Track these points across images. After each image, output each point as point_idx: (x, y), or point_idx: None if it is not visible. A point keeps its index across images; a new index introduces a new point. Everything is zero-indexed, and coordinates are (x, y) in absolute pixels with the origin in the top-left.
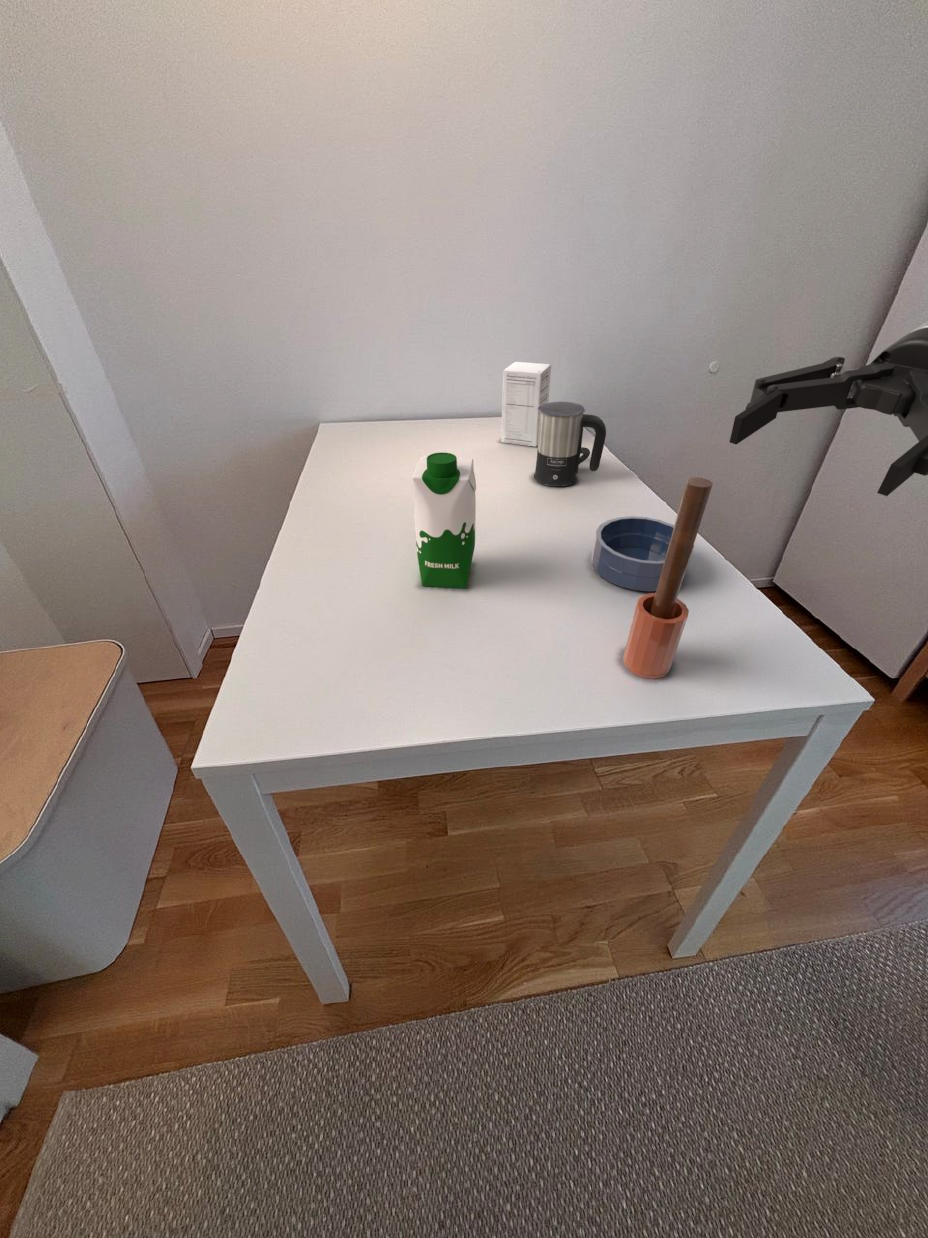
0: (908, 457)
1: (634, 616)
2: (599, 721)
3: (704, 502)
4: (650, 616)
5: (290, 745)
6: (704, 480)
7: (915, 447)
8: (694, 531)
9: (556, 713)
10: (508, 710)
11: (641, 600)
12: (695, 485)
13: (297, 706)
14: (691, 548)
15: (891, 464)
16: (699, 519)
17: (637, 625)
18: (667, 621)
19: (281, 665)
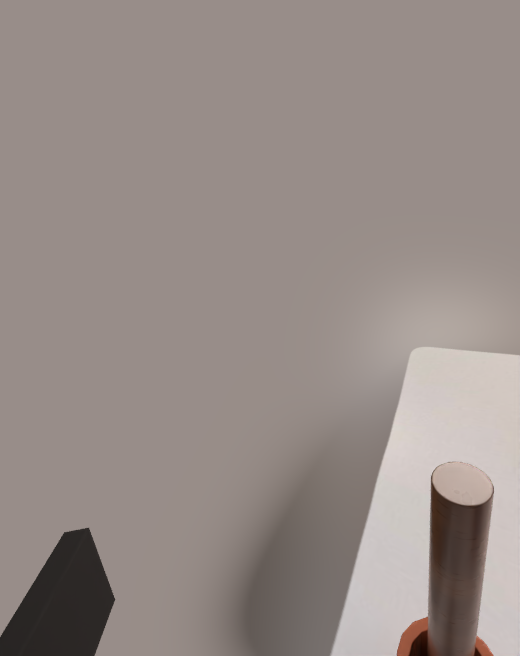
0: (46, 577)
1: None
2: (353, 572)
3: (432, 511)
4: (425, 622)
5: (412, 373)
6: (467, 495)
7: (21, 640)
8: (429, 552)
9: (381, 536)
10: (401, 497)
11: (479, 645)
12: (444, 464)
13: (451, 377)
14: (431, 587)
15: (88, 530)
16: (431, 539)
17: None
18: (403, 640)
19: (506, 371)
